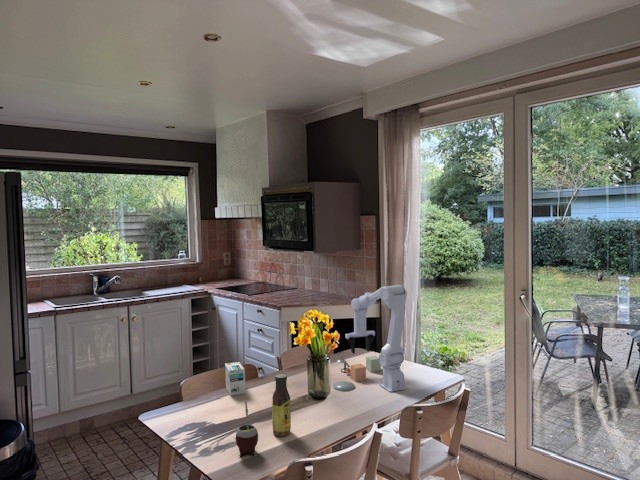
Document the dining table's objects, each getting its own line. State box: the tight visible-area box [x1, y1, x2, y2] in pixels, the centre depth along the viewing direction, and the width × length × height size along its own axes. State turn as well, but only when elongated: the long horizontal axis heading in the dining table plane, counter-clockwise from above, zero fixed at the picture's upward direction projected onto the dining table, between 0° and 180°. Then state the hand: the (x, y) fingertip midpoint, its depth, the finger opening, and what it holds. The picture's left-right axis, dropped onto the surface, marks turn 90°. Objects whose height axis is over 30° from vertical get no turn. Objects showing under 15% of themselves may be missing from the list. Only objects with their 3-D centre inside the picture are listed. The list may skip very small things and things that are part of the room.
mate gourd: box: [235, 399, 259, 458], centre depth 147 cm, size 8×8×15 cm
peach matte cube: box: [349, 363, 367, 383], centre depth 210 cm, size 5×5×6 cm
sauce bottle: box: [271, 373, 292, 437], centre depth 159 cm, size 6×6×20 cm
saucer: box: [332, 380, 355, 392], centre depth 201 cm, size 9×9×1 cm
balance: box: [336, 356, 351, 374], centre depth 221 cm, size 13×4×6 cm, turn 22°
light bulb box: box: [224, 361, 246, 396], centre depth 199 cm, size 11×7×11 cm, turn 22°
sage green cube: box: [365, 355, 382, 373], centre depth 222 cm, size 5×5×6 cm
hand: (360, 352), depth 219 cm, fingers open, 7 cm apart
